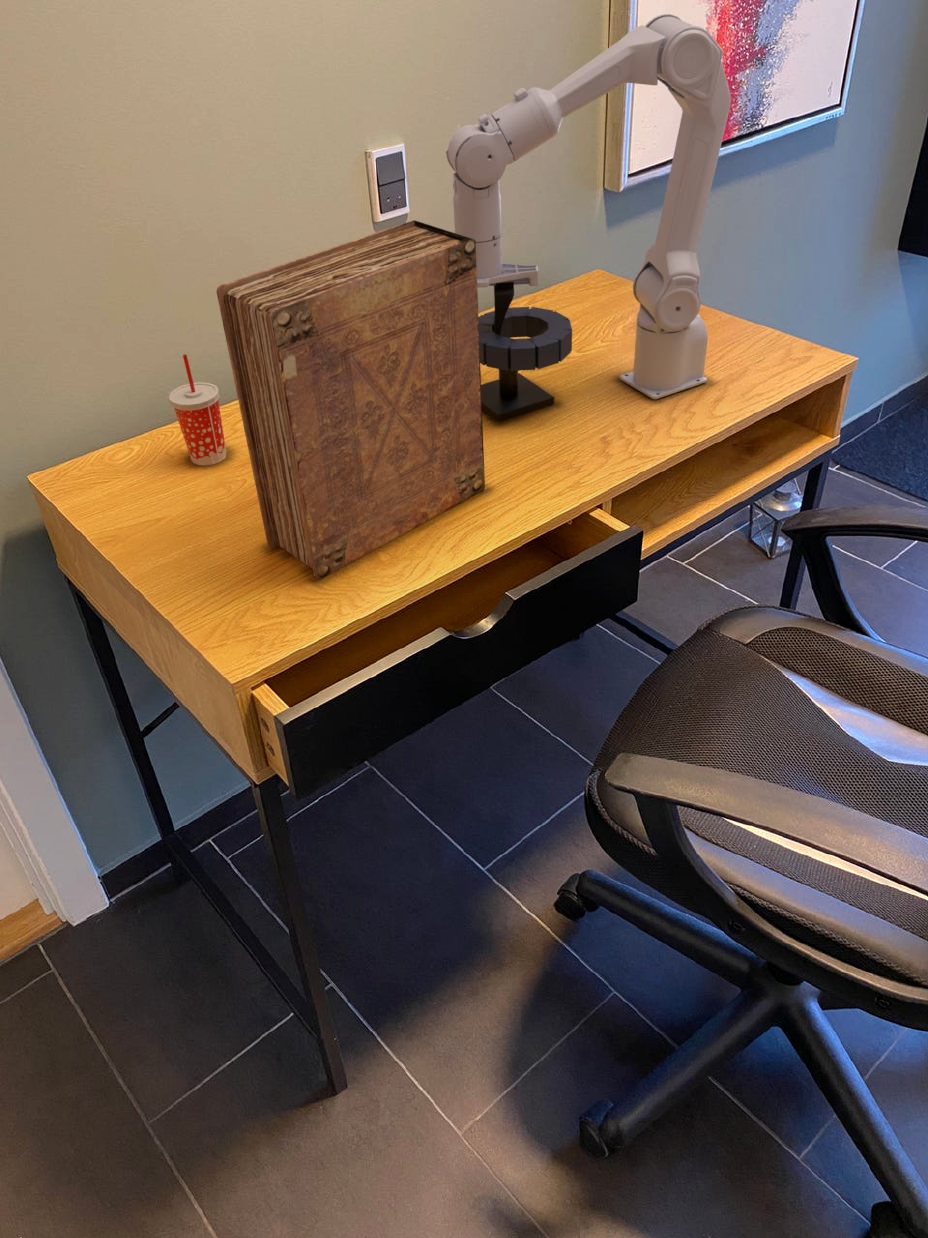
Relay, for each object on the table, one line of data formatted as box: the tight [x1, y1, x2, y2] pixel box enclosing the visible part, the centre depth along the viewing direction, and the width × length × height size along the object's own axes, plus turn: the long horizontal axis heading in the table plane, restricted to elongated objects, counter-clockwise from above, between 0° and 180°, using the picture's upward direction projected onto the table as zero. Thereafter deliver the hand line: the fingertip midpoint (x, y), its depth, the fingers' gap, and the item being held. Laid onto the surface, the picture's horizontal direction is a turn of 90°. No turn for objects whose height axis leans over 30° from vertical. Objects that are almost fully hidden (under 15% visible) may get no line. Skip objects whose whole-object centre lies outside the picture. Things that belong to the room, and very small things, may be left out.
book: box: [215, 220, 486, 580], centre depth 107 cm, size 25×9×30 cm, turn 133°
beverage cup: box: [168, 354, 228, 466], centre depth 125 cm, size 6×6×14 cm
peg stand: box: [481, 368, 555, 424], centre depth 136 cm, size 9×9×6 cm
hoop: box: [478, 306, 573, 372], centre depth 130 cm, size 13×13×3 cm
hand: (482, 340), depth 131 cm, fingers closed on hoop, 3 cm apart
